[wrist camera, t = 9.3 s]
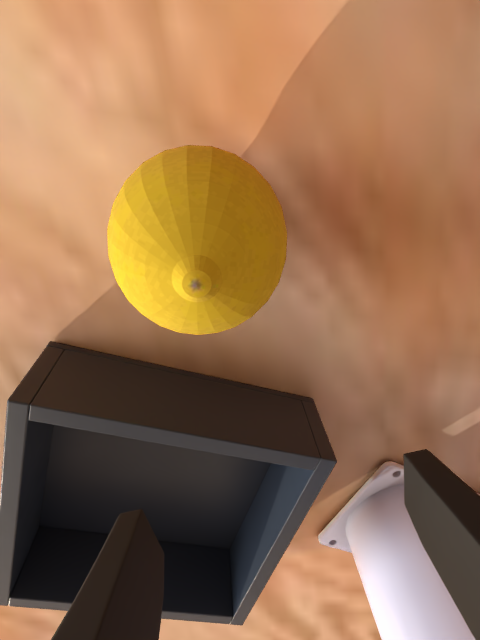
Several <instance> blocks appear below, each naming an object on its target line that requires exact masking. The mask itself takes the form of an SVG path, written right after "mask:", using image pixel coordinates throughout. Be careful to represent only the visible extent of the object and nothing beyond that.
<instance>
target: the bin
mask: <svg viewBox="0 0 480 640" xmlns="http://www.w3.org/2000/svg"><path fill="white" fill-rule="evenodd" d="M336 463H337V460H336V457H335V455H334V452H333V450H332V447H331V444H330V442H329V439H328V437H327V434H326V431H325V429H324V426H323V424H322V421H321V419H320V416H319V413H318V411H317V408H316V406H315V404H314V400H313V399H312V398H308V397H303V396H298V395H294V394H289V393H285V392H280V391H275V390H271V389H266V388H262V387H257V386H253V385H248V384H243V383H239V382H234V381H230V380H225V379H221V378H216V377H211V376H207V375H202V374H198V373H193V372H188V371H184V370H179V369H175V368H170V367H166V366H161V365H156V364H152V363H147V362H143V361H138V360H134V359H129V358H124V357H120V356H115V355H111V354H106V353H102V352H97V351H92V350H88V349H83V348H79V347H74V346H69V345H65V344H60V343H56V342H51V341H50V342H49V344H48V345H47V347H46V348H45V350H44V351H43V352H42V354H41V355H40V356H39V358H38V359H37V361H36V362H35V363H34V365H33V366H32V367H31V369H30V370H29V372H28V373H27V374H26V376H25V377H24V378H23V380H22V381H21V383H20V384H19V385H18V387H17V388H16V390H15V391H14V392H13V394H12V395H11V396H10V398H9V399H8V401H7V412H6V426H5V439H4V453H3V466H2V479H1V493H0V605H4V606H7V605H9V606H15V607H27V608H40V609H52V610H64V611H68V610H69V608H70V607H71V605H72V603H73V601H74V599H75V598H76V596H77V594H78V592H79V590H80V588H81V587H82V585H83V583H84V581H85V579H86V578H87V576H88V574H89V572H90V570H91V568H92V566H93V564H94V562H95V561H96V559H97V557H98V555H99V553H100V551H101V549H102V547H103V545H104V543H105V541H106V539H107V537H108V535H109V533H110V531H111V529H112V528H113V526H114V524H115V522H116V520H117V518H118V516H119V515H120V513H125V512H129V511H134V510H139V509H142V510H143V512H144V514H145V516H146V518H147V520H148V522H149V524H150V526H151V528H152V530H153V532H154V534H155V536H156V538H157V540H158V542H159V544H160V546H161V548H162V550H163V552H164V597H163V606H162V615H161V619H173V620H185V621H197V622H210V623H222V624H229V623H230V624H232V625H243V623H244V621H245V620H246V618H247V616H248V614H249V613H250V611H251V609H252V608H253V606H254V604H255V602H256V601H257V599H258V597H259V595H260V594H261V592H262V590H263V589H264V587H265V585H266V583H267V582H268V580H269V578H270V576H271V575H272V573H273V571H274V570H275V568H276V566H277V564H278V563H279V561H280V559H281V557H282V556H283V554H284V552H285V551H286V549H287V547H288V545H289V544H290V542H291V540H292V538H293V537H294V535H295V533H296V532H297V530H298V528H299V526H300V525H301V523H302V521H303V519H304V518H305V516H306V514H307V513H308V511H309V509H310V507H311V506H312V504H313V502H314V500H315V499H316V497H317V495H318V494H319V492H320V490H321V488H322V487H323V485H324V483H325V482H326V480H327V478H328V476H329V475H330V473H331V471H332V469H333V468H334V466H335V464H336Z"/></svg>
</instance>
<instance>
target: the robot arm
mask: <svg viewBox="0 0 480 640" xmlns="http://www.w3.org/2000/svg"><path fill="white" fill-rule="evenodd" d="M318 539H319V542H320V544H322V545H326V546H329V547H333V548H336V549H340V550H344V551H347V552H351V553H352V554H353V557H354V560H355V563H356V566H357V569H358V572H359V574H360V577H361V580H362V583H363V586H364V589H365V592H366V595H367V598H368V601H369V604H370V607H371V610H372V613H373V616H374V619H375V622H376V624H377V627H378V630H379V633H380V636H381V639H382V640H480V494H479V493H476V492H475V491H474V490H473V489H471V488H470V487H469V486H468V485H467V484H466V483H464V482H463V481H462V480H461V479H460V478H459V477H458V476H456V475H455V474H454V473H453V472H452V471H451V470H450V469H449V468H448V467H446V466H445V465H444V464H443V463H442V462H441V461H440V460H439V459H438V458H437V457H435V456H434V455H433V454H432V453H431V452H430V451H428V450H427V449H425V450H420V451H415V452H411V453H406V454H404V466H403V465H401V464H398V463H395V462H392V461H388V462H385V463H383V464H382V465H381V466H380V467H379V468H378V470H377V471H376V472H375V473H374V474H373V475H372V476H371V477H370V478H369V480H368V481H367V482H366V483H365V484H364V485H363V486H362V487H361V488H360V489H359V491H358V492H357V493H356V494H355V495H354V496H353V497H352V498H351V499H350V500H349V502H348V503H347V504H346V505H345V506H344V507H343V508H342V509H341V510H340V512H339V513H338V514H337V515H336V516H335V517H334V518H333V519H332V520H331V521H330V523H329V524H328V525H327V526H326V527H325V528H324V529H323V530H322V531H321V533H320V534H319V535H318ZM163 597H164V552H163V550H162V548H161V546H160V544H159V542H158V540H157V538H156V536H155V534H154V532H153V530H152V528H151V526H150V524H149V522H148V520H147V518H146V516H145V514H144V512H143V510H142V509H139V510H134V511H129V512H125V513H120V515H119V516H118V518H117V520H116V522H115V524H114V526H113V528H112V529H111V531H110V533H109V535H108V537H107V539H106V541H105V543H104V545H103V547H102V549H101V551H100V553H99V555H98V557H97V559H96V561H95V562H94V564H93V566H92V568H91V570H90V572H89V574H88V576H87V578H86V579H85V581H84V583H83V585H82V587H81V588H80V590H79V592H78V594H77V596H76V598H75V599H74V601H73V603H72V605H71V607H70V608H69V610H68V612H67V614H66V615H65V617H64V619H63V620H62V622H61V624H60V625H59V627H58V629H57V631H56V632H55V634H54V636H53V637H52V639H51V640H158V639H159V631H160V623H161V615H162V606H163Z"/></svg>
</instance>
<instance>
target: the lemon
mask: <svg viewBox="0 0 480 640" xmlns="http://www.w3.org/2000/svg"><path fill="white" fill-rule="evenodd" d="M107 234H108V256H109V260H110V263H111V266H112V269H113V273H114V276H115V279H116V282H117V283H118V285H119V286H120V288H121V290H122V291H123V293H124V295H125V296H126V298H127V299H128V301H129V302H130V303H131V304H132V305H133V306H134V307H135V308H136V309H137V310H138V311H139V312H140V313H141V314H142V315H143V316H145V317H146V318H148V319H150V320H151V321H153V322H154V323H156V324H158V325H159V326H161V327H164V328H167V329H170V330H173V331H176V332H178V333H186V334H195V335H201V334H211V333H218V332H221V331H224V330H227V329H230V328H233V327H236V326H238V325H239V324H241V323H243V322H244V321H246V320H247V319H249V318H251V317H252V316H253V315H254V314H255V313H256V312H257V311H258V310H259V309H260V308H261V307H262V306H263V305H264V304H265V303H266V302H267V301H268V299H269V298H270V296H271V294H272V293H273V291H274V290H275V288H276V286H277V285H278V283H279V280H280V277H281V274H282V270H283V267H284V264H285V260H286V247H287V230H286V226H285V221H284V216H283V211H282V207H281V205H280V203H279V201H278V199H277V197H276V195H275V193H274V191H273V189H272V187H271V186H270V184H269V183H268V182H267V181H266V180H265V179H264V178H263V176H262V175H261V174H260V173H259V172H258V171H257V170H256V169H255V167H253V166H252V165H250V164H249V163H247V162H246V161H244V160H243V159H241V158H240V157H238V156H237V155H235V154H233V153H230V152H227V151H224V150H221V149H218V148H215V147H212V146H194V145H187V146H183V147H178V148H174V149H170V150H165V151H163V152H161V153H160V154H158V155H156V156H154V157H152V158H150V159H149V160H147V161H145V162H143V163H142V165H141V166H140V167H139V168H138V169H137V170H136V171H135V172H134V173H133V174H132V175H131V176H130V177H129V178H128V179H127V180H126V181H125V183H124V185H123V186H122V188H121V190H120V192H119V194H118V195H117V197H116V199H115V201H114V203H113V207H112V211H111V215H110V219H109V224H108V229H107Z"/></svg>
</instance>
